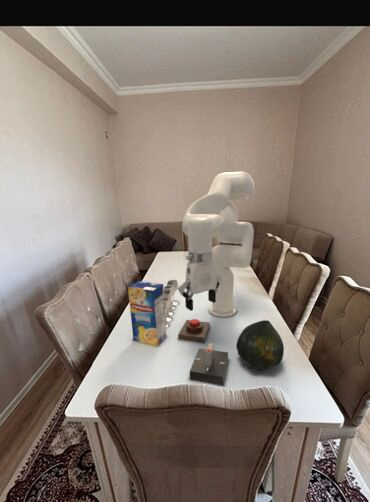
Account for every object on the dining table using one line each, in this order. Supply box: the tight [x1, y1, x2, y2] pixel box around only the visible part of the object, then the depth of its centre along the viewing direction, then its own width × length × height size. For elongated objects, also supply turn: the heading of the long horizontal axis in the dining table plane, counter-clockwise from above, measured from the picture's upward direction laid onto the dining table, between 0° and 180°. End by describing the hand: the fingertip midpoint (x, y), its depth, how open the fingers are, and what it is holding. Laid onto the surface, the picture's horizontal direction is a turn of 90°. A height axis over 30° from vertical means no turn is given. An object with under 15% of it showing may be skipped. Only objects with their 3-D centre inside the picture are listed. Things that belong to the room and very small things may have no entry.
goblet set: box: [163, 279, 179, 329], centre depth 115 cm, size 28×6×13 cm, turn 172°
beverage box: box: [127, 280, 167, 347], centre depth 94 cm, size 7×11×22 cm, turn 65°
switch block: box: [177, 319, 211, 344], centre depth 100 cm, size 12×10×4 cm
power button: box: [189, 318, 200, 327], centre depth 99 cm, size 4×4×2 cm
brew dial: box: [206, 342, 215, 366], centre depth 78 cm, size 5×2×5 cm, turn 164°
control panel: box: [189, 347, 229, 386], centre depth 79 cm, size 12×10×3 cm
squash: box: [235, 319, 285, 372], centre depth 80 cm, size 14×15×15 cm
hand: (201, 305), depth 85 cm, fingers open, 9 cm apart
